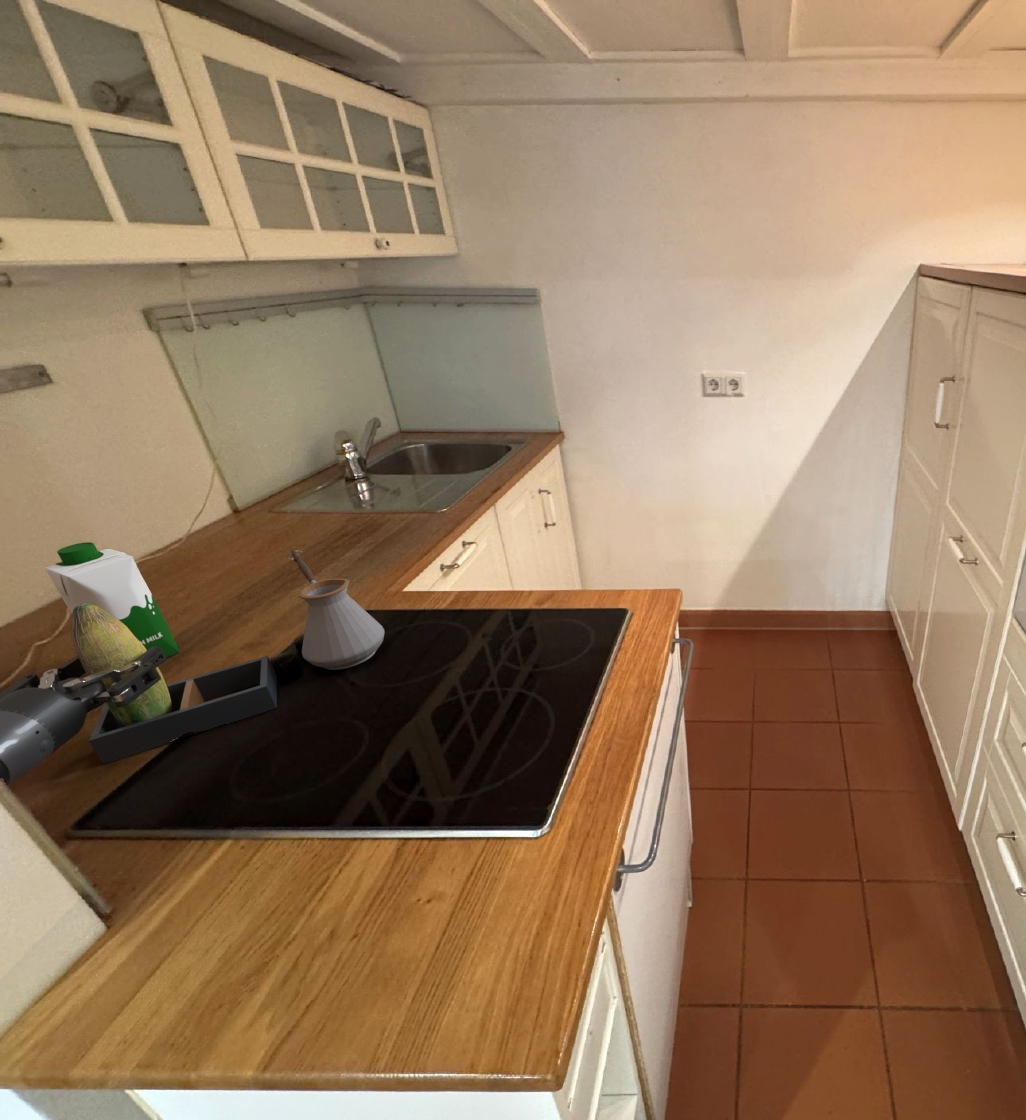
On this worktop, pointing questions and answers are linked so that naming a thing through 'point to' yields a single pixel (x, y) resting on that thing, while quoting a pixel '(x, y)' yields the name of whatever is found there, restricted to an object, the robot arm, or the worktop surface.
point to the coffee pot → (335, 624)
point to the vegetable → (115, 660)
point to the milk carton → (112, 591)
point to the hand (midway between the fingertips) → (124, 655)
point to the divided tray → (191, 709)
